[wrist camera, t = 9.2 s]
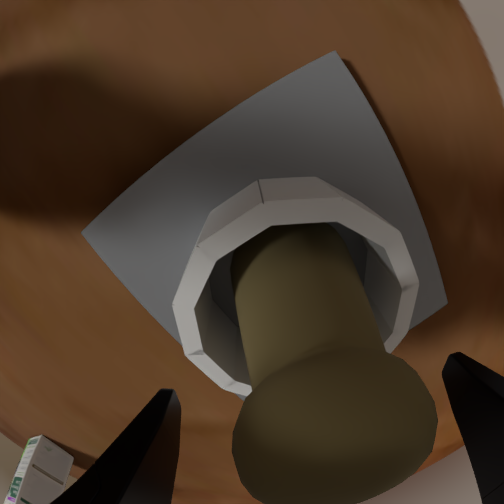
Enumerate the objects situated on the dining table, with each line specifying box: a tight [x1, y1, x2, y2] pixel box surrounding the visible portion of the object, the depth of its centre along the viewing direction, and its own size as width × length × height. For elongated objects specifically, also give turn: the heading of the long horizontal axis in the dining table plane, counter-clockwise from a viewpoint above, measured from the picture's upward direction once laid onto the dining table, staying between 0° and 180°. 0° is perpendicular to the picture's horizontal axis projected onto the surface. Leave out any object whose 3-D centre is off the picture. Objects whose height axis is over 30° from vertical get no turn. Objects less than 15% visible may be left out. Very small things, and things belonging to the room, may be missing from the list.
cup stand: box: [81, 51, 448, 401], centre depth 13 cm, size 15×16×5 cm
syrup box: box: [4, 435, 74, 504], centre depth 20 cm, size 6×6×14 cm
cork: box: [230, 222, 438, 504], centre depth 10 cm, size 6×6×11 cm
